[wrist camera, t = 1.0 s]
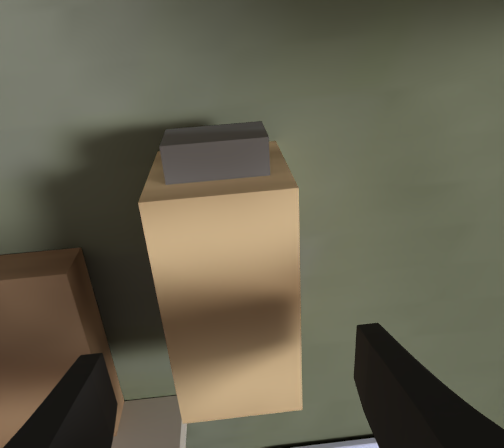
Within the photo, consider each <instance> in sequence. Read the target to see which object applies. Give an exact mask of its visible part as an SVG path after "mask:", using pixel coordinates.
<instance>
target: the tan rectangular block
mask: <svg viewBox="0 0 504 448" xmlns="http://www.w3.org/2000/svg"><path fill="white" fill-rule="evenodd" d="M159 148H160V151H158V152H157V154H156V157H155V160H154V162H153V165H152V167H151V170H150V173H149V175H148V178H147V181H146V183H145V186H144V189H143V191H142V194H141V196H140V199H139V202H138V205H139V210H140V215H141V220H142V225H143V230H144V235H145V240H146V245H147V250H148V255H149V260H150V264H151V269H152V274H153V279H154V284H155V289H156V294H157V299H158V304H159V309H160V314H161V319H162V324H163V329H164V334H165V339H166V344H167V349H168V354H169V359H170V364H171V369H172V374H173V379H174V383H175V388H176V393H177V398H178V403H179V408H180V413H181V418H182V423H183V424H185V423H194V422H202V421H211V420H220V419H228V418H237V417H245V416H254V415H262V414H271V413H279V412H288V411H297V410H302V360H301V301H300V243H299V188H298V186H297V184H296V182H295V180H294V178H293V176H292V174H291V171H290V169H289V167H288V165H287V163H286V161H285V159H284V157H283V155H282V153H281V151H280V149H279V147H278V145H277V143H276V141H270V142H269V137H268V134H267V132H266V130H265V128H264V126H263V123H262V121H258V122H246V123H234V124H223V125H211V126H199V127H188V128H176V129H166V130H165V133H164V135H163V138H162V141H161V143H160V146H159Z"/></svg>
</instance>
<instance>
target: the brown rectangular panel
mask: <svg viewBox="0 0 504 448" xmlns="http://www.w3.org/2000/svg"><path fill="white" fill-rule="evenodd" d="M95 353H103V356H104V359H105V363H106V366H107V369H108V373H109V376H110V380H111V383H112V386H113V390H114V393H115V397H116V400H117V403H118V406H117V414H116V422H115V429H114V436H117V432H118V427H119V423H120V418H121V414H122V409H123V405H124V398H123V395H122V391H121V388H120V384H119V381H118V377H117V373H116V370H115V366H114V363H113V359H112V356H111V352H110V349H109V345H108V341H107V338H106V334H105V331H104V327H103V324H102V320H101V317H100V313H99V309H98V306H97V302H96V299H95V295H94V292H93V288H92V285H91V281H90V277H89V274H88V270H87V267H86V263H85V260H84V256H83V253H82V249H81V247H80V248H70V249H60V250H49V251H39V252H28V253H18V254H8V255H0V448H3V447H4V446H5V445H6V444H7V443H8V441H9V440H10V439H11V438H12V437H13V436H14V435H15V434H16V433H17V431H18V430H19V429H20V428H21V427H22V426H23V425H24V424H25V422H26V421H27V420H28V419H29V418H30V416H31V415H32V414H33V413H34V412H35V410H36V409H37V408H38V407H39V406H40V404H41V403H42V402H43V401H44V400H45V398H46V397H47V396H48V395H49V393H50V392H51V391H52V390H53V388H54V387H55V386H56V385H57V383H58V382H59V381H60V380H61V378H62V377H63V376H64V375H65V373H66V372H67V371H68V370H69V368H70V367H71V366H72V365H73V363H74V362H75V361H76V360H77V358H78V357H79V356H80V355H85V354H95ZM114 436H113V437H114Z"/></svg>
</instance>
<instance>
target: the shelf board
mask: <svg viewBox="0 0 504 448" xmlns="http://www.w3.org/2000/svg"><path fill="white" fill-rule="evenodd" d="M186 431H187V423H185V424H183V423H182V418H181V413H180V408H179V403H178V398H177V395H176V396H167V397H158V398H149V399H140V400H131V401H124V405H123V409H122V414H121V418H120V423H119V427H118V432H117V436H114V437H113V442H112V446H111V448H186Z"/></svg>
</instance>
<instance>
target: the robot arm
mask: <svg viewBox="0 0 504 448" xmlns="http://www.w3.org/2000/svg"><path fill="white" fill-rule="evenodd" d="M354 380H355V383H356V387H357V390H358V394H359V397H360V401H361V404H362V407H363V410H364V413H365V416H366V418H367V421H368V423H369V425H370V428H371V430H372V432H373V435H374V437H375V438H367V439H359V440H350V441H342V442H333V443H325V444H317V445H308V446H300V447H292V448H504V429H502V428H501V427H500V426H498V425H497V424H495V423H494V422H493V421H491V420H490V419H488V418H487V417H485V416H484V415H483V414H481V413H480V412H478V411H477V410H476V409H474V408H473V407H472V406H470V405H469V404H468V403H467V402H465V401H464V400H463V399H462V398H460V397H459V396H458V395H457V394H455V393H454V392H453V391H452V390H450V389H449V388H448V387H447V386H446V385H444V384H443V383H442V382H441V381H440V380H439V379H437V378H436V377H435V376H434V375H433V374H432V373H431V372H430V371H428V370H427V369H426V368H425V367H424V366H423V365H422V364H421V363H419V362H418V361H417V360H416V359H415V358H414V357H413V356H412V355H411V354H410V353H409V352H408V351H407V350H406V349H405V348H404V347H402V346H401V345H400V344H399V343H398V342H397V341H396V340H395V339H394V338H393V337H392V336H391V335H390V334H389V333H388V332H387V331H386V330H385V329H384V328H383V327H382V326H381V325H380V324H379V323H373V324H363V325H357V332H356V349H355V366H354ZM117 406H118V403H117V400H116V397H115V393H114V390H113V386H112V383H111V380H110V376H109V373H108V369H107V366H106V363H105V359H104V356H103V353H95V354H85V355H80V356H79V357H78V358H77V360H76V361H75V362H74V363H73V365H72V366H71V367H70V368H69V370H68V371H67V372H66V373H65V375H64V376H63V377H62V378H61V380H60V381H59V382H58V383H57V385H56V386H55V387H54V388H53V390H52V391H51V392H50V393H49V395H48V396H47V397H46V398H45V400H44V401H43V402H42V403H41V404H40V406H39V407H38V408H37V409H36V410H35V412H34V413H33V414H32V415H31V416H30V418H29V419H28V420H27V421H26V422H25V424H24V425H23V426H22V427H21V428H20V429H19V430H18V431H17V433H16V434H15V435H14V436H13V437H12V438H11V439H10V440H9V441H8V443H7V444H6V445H5V446H4V447H3V448H111V446H112V442H113V436H114V429H115V422H116V414H117Z"/></svg>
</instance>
